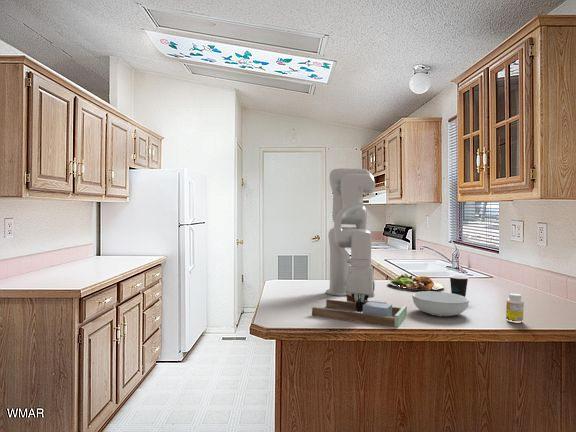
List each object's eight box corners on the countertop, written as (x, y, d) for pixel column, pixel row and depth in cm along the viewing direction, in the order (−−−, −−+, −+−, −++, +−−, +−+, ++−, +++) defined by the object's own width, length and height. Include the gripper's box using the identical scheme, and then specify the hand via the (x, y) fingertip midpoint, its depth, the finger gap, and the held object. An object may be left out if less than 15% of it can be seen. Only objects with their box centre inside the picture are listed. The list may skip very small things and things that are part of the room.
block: (368, 315, 164) (368, 301, 163) (391, 319, 159) (392, 304, 159) (362, 320, 157) (362, 305, 157) (386, 323, 153) (387, 308, 153)
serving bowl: (463, 324, 154) (463, 305, 153) (405, 315, 165) (405, 297, 165) (472, 312, 171) (473, 295, 171) (419, 305, 182) (420, 288, 182)
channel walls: (331, 303, 182) (332, 296, 182) (406, 312, 169) (406, 304, 169) (311, 315, 162) (312, 307, 162) (394, 326, 149) (394, 318, 149)
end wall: (403, 315, 163) (403, 305, 163) (406, 316, 163) (406, 305, 163) (394, 326, 149) (394, 315, 148) (398, 327, 148) (398, 315, 148)
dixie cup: (466, 299, 193) (467, 275, 193) (469, 303, 185) (470, 278, 185) (447, 298, 195) (448, 274, 195) (449, 302, 187) (450, 277, 187)
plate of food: (379, 283, 233) (379, 272, 232) (423, 281, 240) (424, 270, 240) (406, 295, 206) (406, 283, 205) (456, 292, 213) (456, 280, 213)
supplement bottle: (508, 319, 161) (508, 292, 160) (524, 322, 157) (525, 294, 157) (504, 322, 156) (505, 294, 156) (521, 325, 153) (522, 296, 153)
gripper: (338, 263, 162) (338, 311, 162) (378, 266, 155) (377, 316, 156) (345, 260, 168) (344, 307, 169) (382, 263, 162) (382, 311, 162)
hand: (360, 311), depth 162 cm, fingers closed
